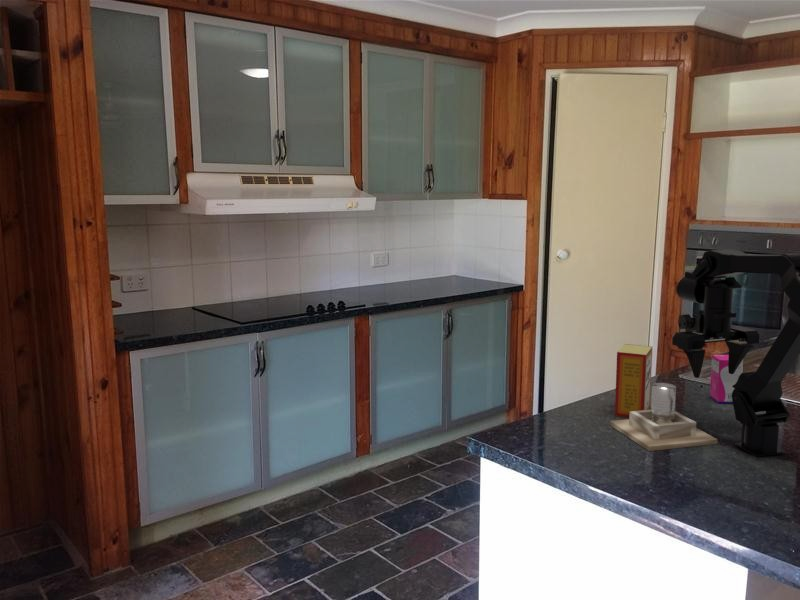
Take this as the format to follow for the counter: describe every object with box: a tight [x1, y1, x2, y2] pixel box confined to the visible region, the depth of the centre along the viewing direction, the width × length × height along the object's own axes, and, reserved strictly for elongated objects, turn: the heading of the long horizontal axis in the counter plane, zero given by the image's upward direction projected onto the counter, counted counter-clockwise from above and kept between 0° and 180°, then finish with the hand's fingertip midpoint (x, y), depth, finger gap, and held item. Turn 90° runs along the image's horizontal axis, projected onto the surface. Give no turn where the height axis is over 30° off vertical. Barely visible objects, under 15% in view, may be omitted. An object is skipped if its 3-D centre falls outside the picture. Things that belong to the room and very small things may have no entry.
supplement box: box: [709, 354, 744, 405], centre depth 168 cm, size 6×6×12 cm
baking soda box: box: [614, 343, 653, 418], centre depth 160 cm, size 10×6×16 cm
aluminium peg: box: [649, 382, 677, 424], centre depth 146 cm, size 5×5×10 cm
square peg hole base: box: [609, 409, 719, 452], centre depth 146 cm, size 16×16×4 cm
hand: (713, 375), depth 148 cm, fingers open, 9 cm apart
